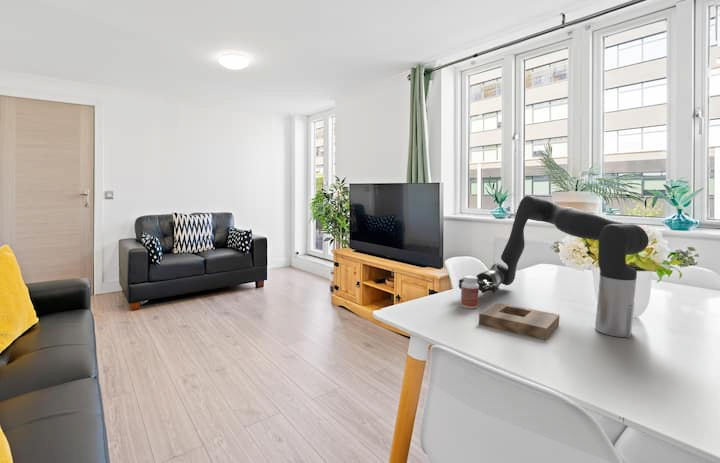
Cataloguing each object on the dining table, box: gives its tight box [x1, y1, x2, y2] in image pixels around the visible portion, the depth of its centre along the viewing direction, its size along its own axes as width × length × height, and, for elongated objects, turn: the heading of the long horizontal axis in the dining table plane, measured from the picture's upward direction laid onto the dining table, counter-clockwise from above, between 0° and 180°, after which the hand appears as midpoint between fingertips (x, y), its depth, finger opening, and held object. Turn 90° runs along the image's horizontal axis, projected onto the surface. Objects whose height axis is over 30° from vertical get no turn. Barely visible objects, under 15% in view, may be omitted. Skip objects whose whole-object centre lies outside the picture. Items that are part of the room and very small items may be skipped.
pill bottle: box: [460, 275, 480, 310], centre depth 142 cm, size 6×6×11 cm
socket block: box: [478, 302, 560, 341], centre depth 124 cm, size 20×16×4 cm
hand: (471, 288), depth 143 cm, fingers open, 8 cm apart
